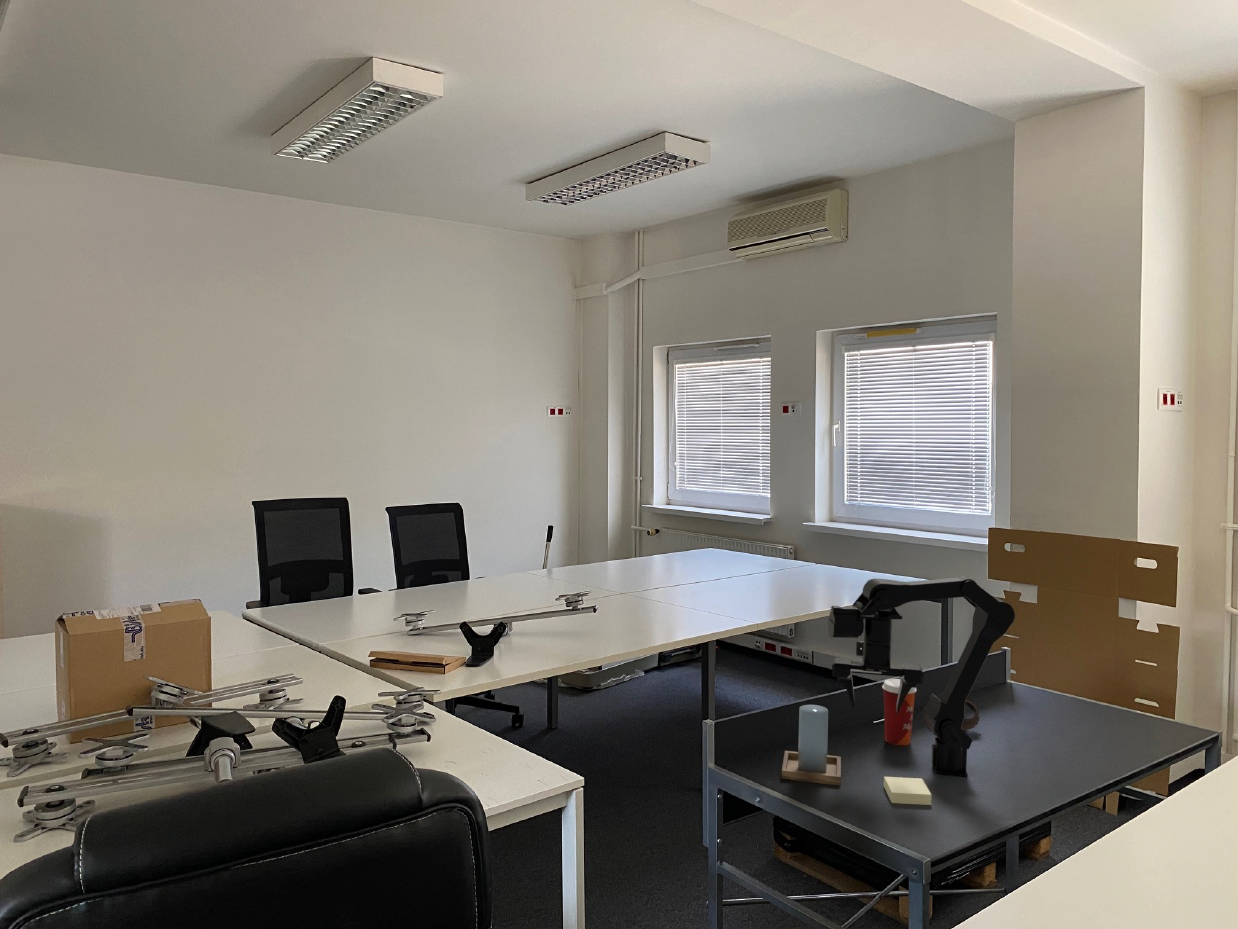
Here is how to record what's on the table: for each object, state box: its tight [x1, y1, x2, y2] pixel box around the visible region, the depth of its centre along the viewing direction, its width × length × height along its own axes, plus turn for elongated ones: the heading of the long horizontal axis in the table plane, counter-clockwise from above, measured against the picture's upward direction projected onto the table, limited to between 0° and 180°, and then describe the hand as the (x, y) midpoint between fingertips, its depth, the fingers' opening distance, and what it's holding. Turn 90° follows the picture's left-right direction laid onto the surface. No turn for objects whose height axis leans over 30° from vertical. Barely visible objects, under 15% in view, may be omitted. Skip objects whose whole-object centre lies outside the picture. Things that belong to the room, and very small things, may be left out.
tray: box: [781, 750, 842, 786], centre depth 184 cm, size 12×11×2 cm
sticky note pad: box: [883, 776, 932, 806], centre depth 173 cm, size 8×8×2 cm
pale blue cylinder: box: [797, 704, 829, 774], centre depth 184 cm, size 6×6×13 cm
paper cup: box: [881, 678, 917, 747], centre depth 202 cm, size 8×8×14 cm
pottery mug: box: [961, 699, 980, 732], centre depth 212 cm, size 12×10×8 cm
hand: (875, 709), depth 186 cm, fingers open, 9 cm apart
